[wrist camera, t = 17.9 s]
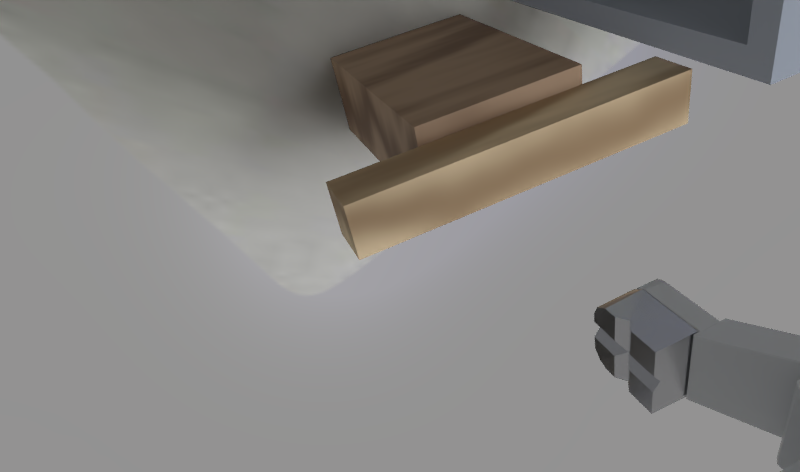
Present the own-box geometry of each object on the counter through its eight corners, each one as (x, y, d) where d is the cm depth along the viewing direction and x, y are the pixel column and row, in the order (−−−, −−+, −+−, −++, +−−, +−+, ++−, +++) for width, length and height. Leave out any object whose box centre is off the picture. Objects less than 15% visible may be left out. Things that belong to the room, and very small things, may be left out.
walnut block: (330, 57, 46) (414, 127, 34) (459, 14, 49) (581, 64, 36) (349, 129, 50) (431, 215, 37) (469, 85, 52) (584, 153, 40)
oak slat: (326, 182, 33) (343, 206, 31) (655, 56, 38) (692, 69, 36) (342, 233, 35) (359, 260, 33) (653, 107, 40) (687, 123, 38)
